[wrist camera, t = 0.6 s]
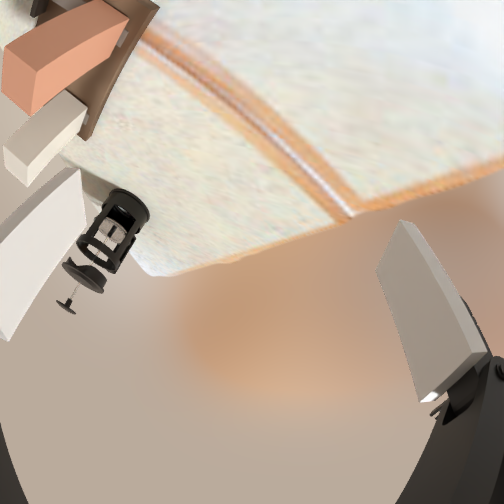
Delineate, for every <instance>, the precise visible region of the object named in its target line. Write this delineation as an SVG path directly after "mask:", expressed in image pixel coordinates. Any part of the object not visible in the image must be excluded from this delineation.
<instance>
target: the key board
mask: <svg viewBox="0 0 504 504" xmlns="http://www.w3.org/2000/svg"><path fill="white" fill-rule="evenodd" d="M90 1H93V0H34V1H33V5H32V8H31V12H30V16H32V17H33V18H35V17H36V16H38V15H39V17H38V21H37V25H36V27H38V26H39V25H41V24H43V23H45V22H47V21H49V20H51V19H53V18H55V17H57V16H59V15H61V14H63V13H65V12H67V11H70V10H72V9H74V8H76V7H79V6H81V5H83V4H86V3H88V2H90ZM102 1H104V2H105V3H107V4H108V5H110V6H111V7H113V8H114V9H116V10H117V11H119V12H120V13H122V14H123V15H125V16H126V17H128V18H129V21H128V23H127V24H126V26H125V28H124V30H123V32H122V33H121V35H120V37H119V39H118V41H117V43H116V45H115V47H114V49H113V51H112V53H111V55H110V57H109V58H107V59H106V60H104V61H103V62H101V63H100V64H98V65H97V66H95V67H94V68H92V69H91V70H89V71H88V72H86V73H85V74H83V75H82V76H81V77H79V78H78V79H76V80H75V81H74V82H72V83H71V84H70V85H68V86H67V87H66V88H64V89H65V90H66V91H67V92H69V93H70V94H71V95H72V96H74V97H75V98H76V99H77V100H79V101H80V102H81V103H82V104H84V105H85V106H86V107H87V108H88V109H87V111H86V114H85V117H84V119H83V122H82V125H81V128H80V131H79V132H78V133H77V135H78V136H79V137H81V138H82V139H83V140H84V141H87V140H88V139H89V138H90V137H91V135H92V133H93V130H94V128H95V126H96V123H97V121H98V119H99V116H100V114H101V112H102V109H103V107H104V105H105V103H106V101H107V99H108V96H109V94H110V92H111V90H112V88H113V86H114V84H115V82H116V80H117V78H118V76H119V74H120V73H121V71H122V69H123V67H124V65H125V63H126V61H127V60H128V58H129V56H130V54H131V52H132V51H133V49H134V47H135V46H136V44H137V42H138V41H139V39H140V37H141V36H142V34H143V32H144V31H145V29H146V28H147V26H148V25H149V23H150V21H151V20H152V18H153V17H154V15H155V14H156V12H157V11H158V10H159V8H160V7H159V6H157V5H156V4H154V3H153V2H152V1H150V0H102ZM64 89H63V90H64ZM63 90H62V91H63ZM62 91H61V92H62ZM59 93H60V92H59ZM59 93H58V94H59ZM58 94H57V95H58ZM57 95H55V96H57ZM55 96H54V97H55ZM54 97H53V98H54ZM53 98H52V99H53ZM52 99H51V100H52ZM51 100H49V101H51ZM49 101H48V102H49ZM48 102H47V103H48ZM47 103H46V104H47ZM46 104H45V105H46ZM45 105H43V106H45Z"/></svg>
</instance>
